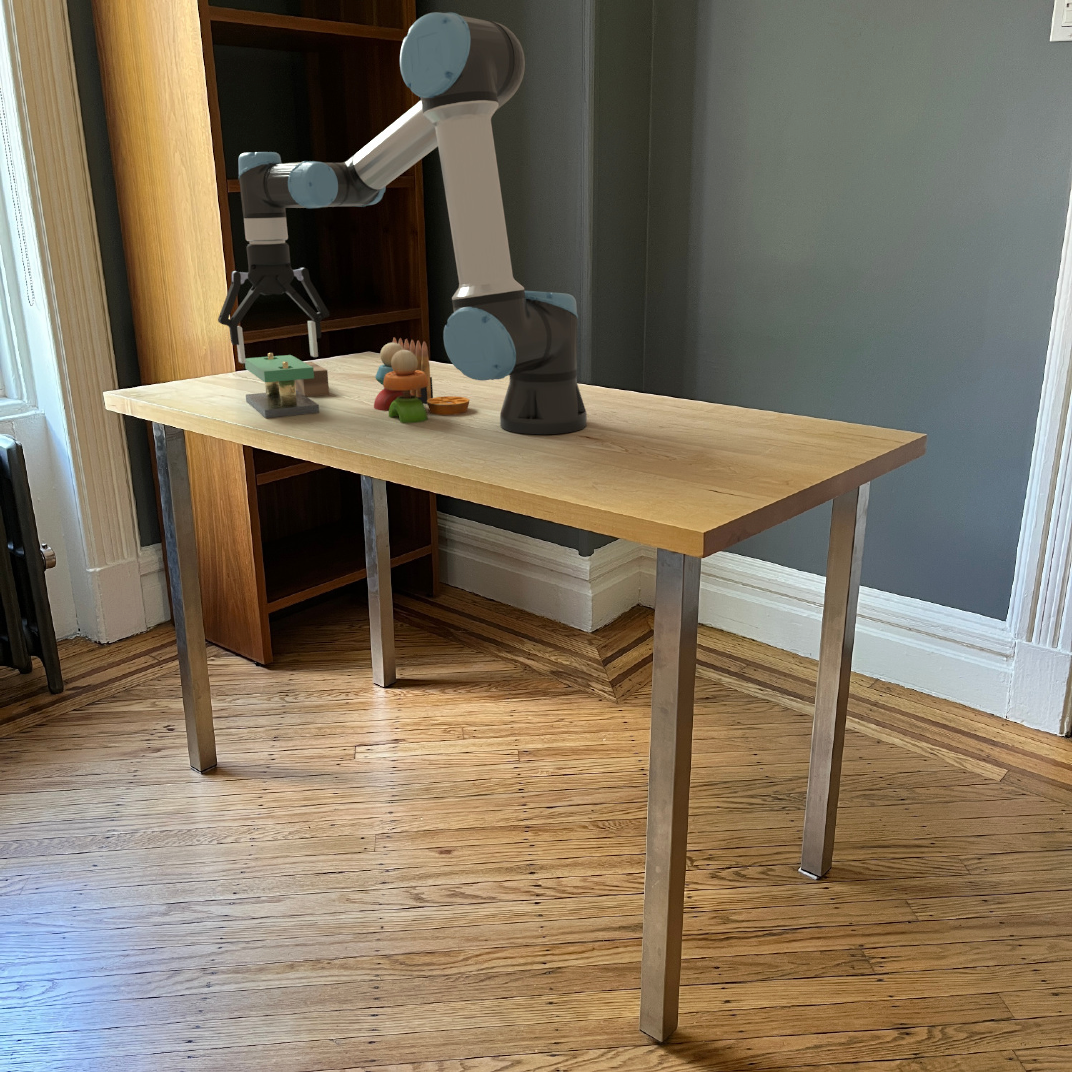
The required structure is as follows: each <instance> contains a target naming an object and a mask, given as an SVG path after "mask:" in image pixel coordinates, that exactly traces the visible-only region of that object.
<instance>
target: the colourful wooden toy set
mask: <svg viewBox="0 0 1072 1072" xmlns="http://www.w3.org/2000/svg"><path fill="white" fill-rule="evenodd" d="M379 356H380V360H381V362H382V364H381V365H379V366H378V369H377V371H376V374H375V377H374V378H375V380H376V381H377V382H378V383H379V384H381V385H382V386H383V389H382V390H380V391H379V392H378V393H377V395H376V396H375V398H374V402H373V409H374V410H377V411H382V412H383V411H384V412H385V411H388V418H395V417H399V418H398V419H399V422H400V423H401V424H413V423H421V422H425V421H427V420H428V416H427V415H428V414H427V411H426V407H425V404H423V403H422V402H421V400H420V399H418V398H417V397H416V396H412V394H411V393H410V390H416V389H421V388H424V387H426V386H428V379H427V376H426V374H425V373H424V372H423V371H419V370H416V369H417V366H418V361H417V358H416V356H415V355H414V354H413V353H412V352H410V351H408V350H404V349H403V347H402V346H401V345H399V344H398V342H397V343H392V342H388V343H387V344H385V345H383V347H382V348H381V350H380V355H379ZM469 404H470V399H469V398H467V397H464V396H456V395H455V396H452V395H450V396H448V395H447V396H437V397H433V398H431V399H428V400H427V404H426V405H427V407H428V409H429V410H428V411H429V412H430V413H431V414H434V415H439V416H443V415H444V416H450V415H451V416H452V415H461V414H463V413H466V412H467V411H468V407H469Z"/></svg>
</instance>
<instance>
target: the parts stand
mask: <svg viewBox="0 0 1072 1072" xmlns="http://www.w3.org/2000/svg"><path fill="white" fill-rule="evenodd" d="M303 362H304V363H306V364H308V365H310V366H312V367H313V370H314V378H311V379H300V380H295V386H296V390H297V391H299V392H300V393H302V394H303V395H305V396H306V397H313V396H323V395H330V389H329V378H328V377H329V371H328V369H326V368H324V367H322V366H321V365H319V364H317V363H315V362H313V361H308V362H307V361H306V362H305V361H303Z"/></svg>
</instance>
